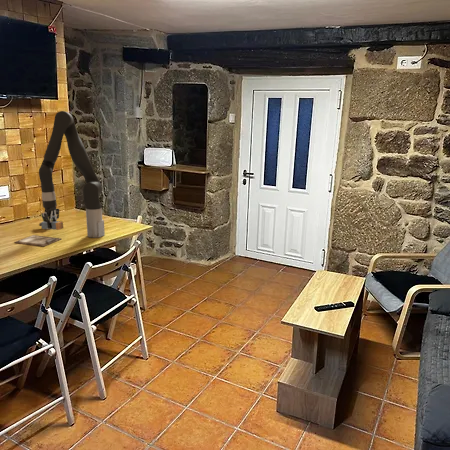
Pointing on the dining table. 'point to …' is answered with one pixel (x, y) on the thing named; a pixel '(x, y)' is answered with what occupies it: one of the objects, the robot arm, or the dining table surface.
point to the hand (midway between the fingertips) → (52, 227)
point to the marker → (55, 225)
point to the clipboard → (38, 240)
